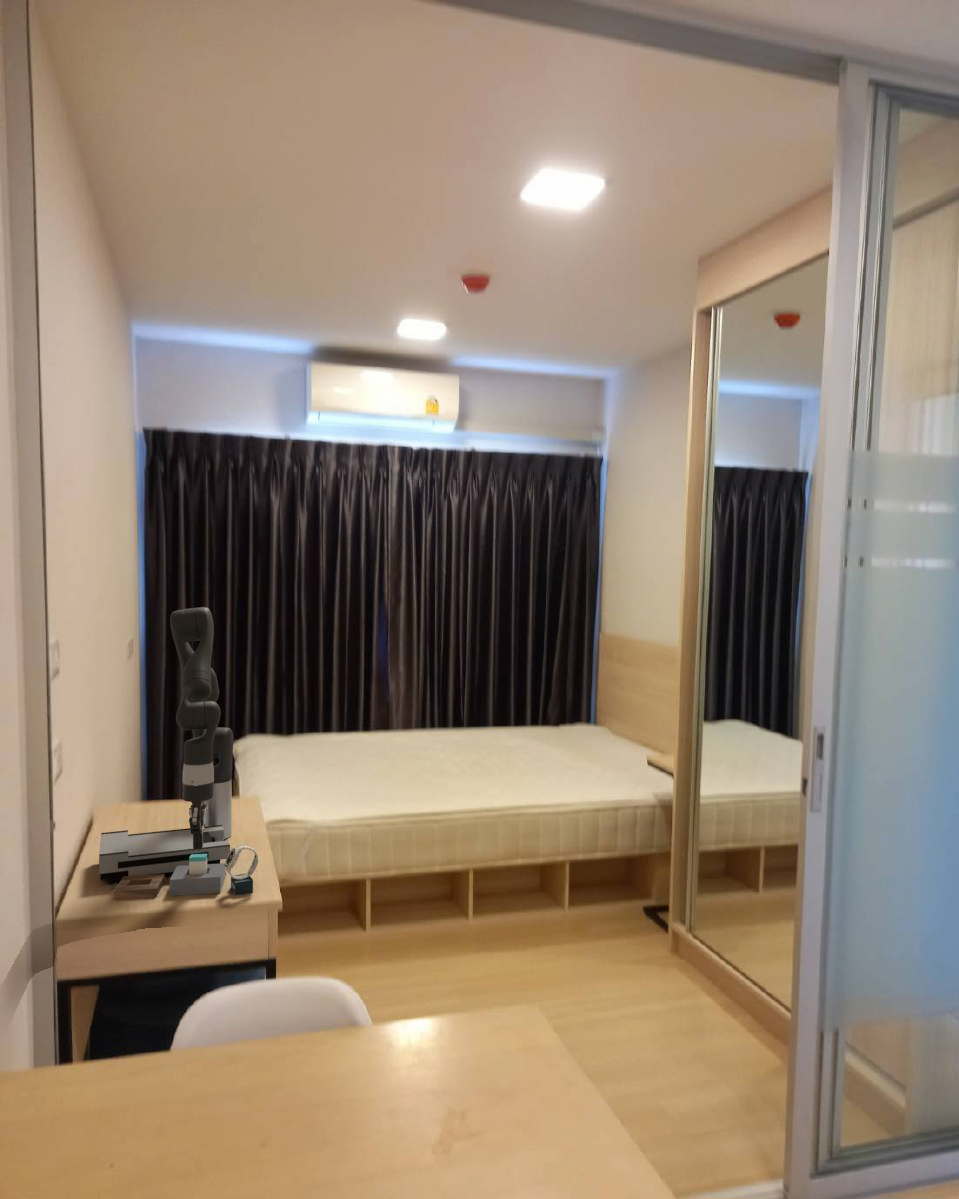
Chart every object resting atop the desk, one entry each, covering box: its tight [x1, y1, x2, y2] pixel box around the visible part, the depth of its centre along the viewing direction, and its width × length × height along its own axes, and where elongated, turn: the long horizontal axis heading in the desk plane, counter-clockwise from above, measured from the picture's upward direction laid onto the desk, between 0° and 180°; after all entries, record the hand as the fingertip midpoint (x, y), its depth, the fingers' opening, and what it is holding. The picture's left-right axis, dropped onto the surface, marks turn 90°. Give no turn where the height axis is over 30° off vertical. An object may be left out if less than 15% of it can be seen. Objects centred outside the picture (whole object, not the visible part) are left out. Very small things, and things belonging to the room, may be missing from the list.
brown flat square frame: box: [113, 874, 166, 900], centre depth 205 cm, size 10×10×2 cm
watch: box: [224, 844, 259, 896], centre depth 206 cm, size 6×8×11 cm
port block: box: [169, 862, 226, 897], centre depth 208 cm, size 10×12×4 cm
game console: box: [98, 825, 231, 886], centre depth 223 cm, size 21×32×8 cm, turn 113°
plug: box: [189, 854, 207, 875], centre depth 208 cm, size 3×4×8 cm, turn 100°
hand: (198, 848), depth 208 cm, fingers closed
